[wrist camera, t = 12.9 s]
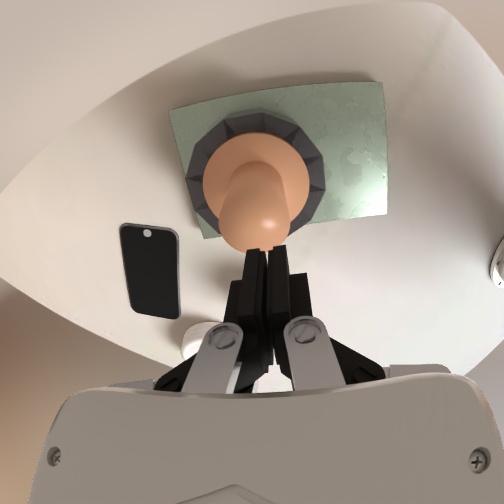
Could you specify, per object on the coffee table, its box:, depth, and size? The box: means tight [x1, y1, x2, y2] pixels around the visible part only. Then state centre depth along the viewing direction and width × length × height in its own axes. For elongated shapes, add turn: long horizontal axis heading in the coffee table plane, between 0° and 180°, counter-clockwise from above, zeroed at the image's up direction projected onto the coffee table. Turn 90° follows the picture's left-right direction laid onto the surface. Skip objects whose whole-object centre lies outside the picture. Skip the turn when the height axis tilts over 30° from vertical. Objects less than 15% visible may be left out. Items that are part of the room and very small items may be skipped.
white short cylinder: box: [181, 322, 220, 361], centre depth 41 cm, size 10×10×4 cm
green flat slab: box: [168, 82, 388, 239], centre depth 24 cm, size 20×14×6 cm
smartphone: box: [120, 223, 181, 319], centre depth 36 cm, size 8×1×15 cm
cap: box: [203, 132, 309, 253], centre depth 20 cm, size 8×8×10 cm
